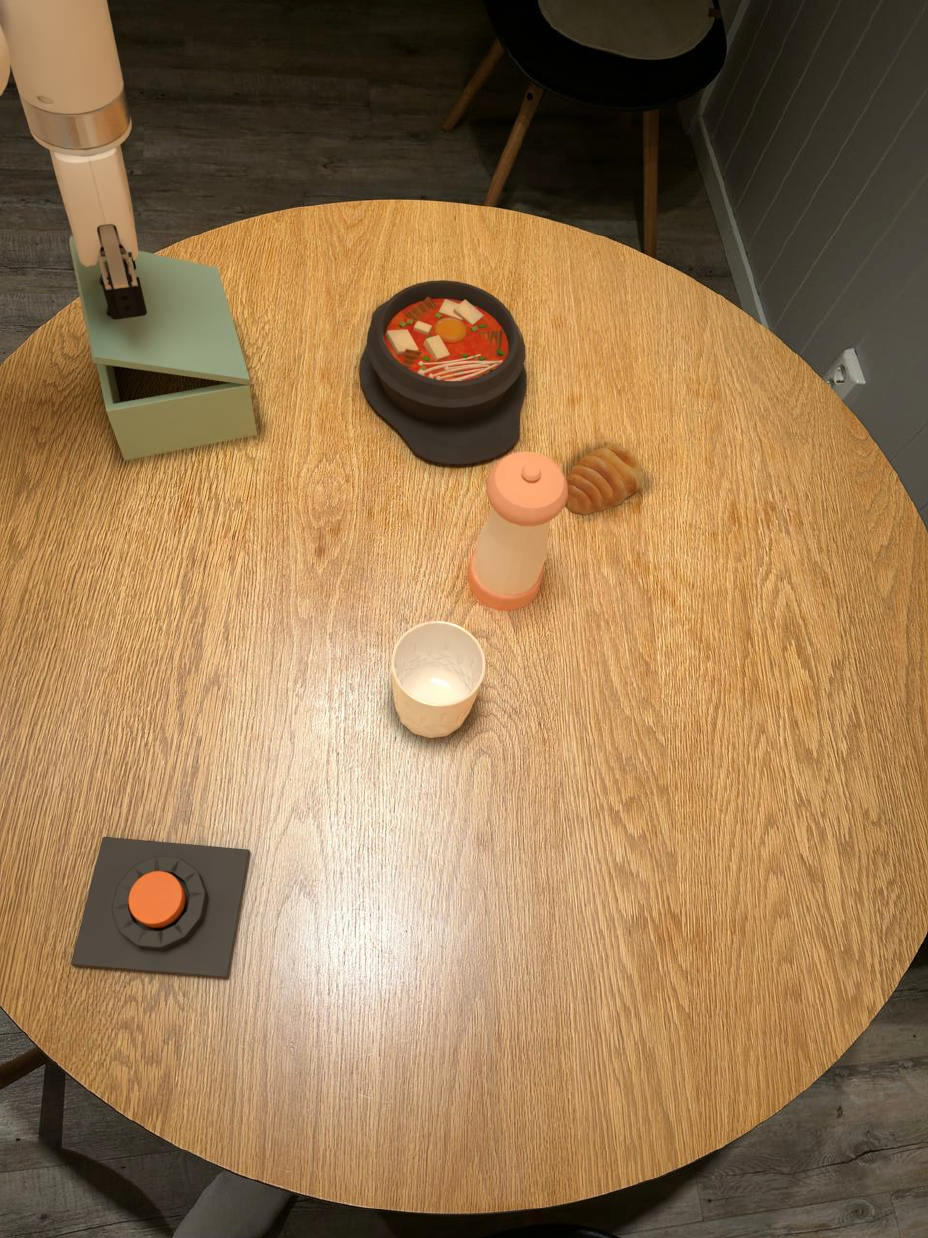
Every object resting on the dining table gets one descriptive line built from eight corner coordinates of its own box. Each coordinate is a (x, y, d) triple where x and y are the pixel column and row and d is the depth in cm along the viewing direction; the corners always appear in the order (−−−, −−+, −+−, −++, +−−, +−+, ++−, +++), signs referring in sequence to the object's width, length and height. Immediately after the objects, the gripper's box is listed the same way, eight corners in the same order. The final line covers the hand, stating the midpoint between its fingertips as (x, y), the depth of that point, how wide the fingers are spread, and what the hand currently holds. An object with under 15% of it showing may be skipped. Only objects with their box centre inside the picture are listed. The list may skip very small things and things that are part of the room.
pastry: (585, 535, 98) (593, 514, 94) (541, 493, 100) (547, 471, 96) (646, 489, 101) (655, 468, 98) (602, 450, 103) (610, 427, 100)
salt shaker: (453, 568, 94) (472, 450, 77) (516, 543, 96) (548, 423, 79) (487, 627, 92) (514, 517, 75) (551, 600, 94) (592, 487, 77)
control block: (78, 968, 74) (63, 961, 71) (109, 843, 79) (96, 830, 75) (230, 981, 75) (224, 974, 71) (252, 855, 79) (247, 844, 76)
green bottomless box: (127, 467, 96) (106, 411, 89) (104, 355, 103) (82, 294, 95) (258, 442, 99) (249, 385, 92) (228, 334, 106) (217, 273, 98)
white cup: (483, 682, 89) (495, 635, 80) (460, 758, 85) (471, 717, 76) (403, 659, 89) (407, 609, 80) (377, 733, 85) (379, 690, 77)
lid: (92, 362, 83) (105, 321, 80) (68, 242, 90) (79, 198, 86) (247, 385, 91) (265, 348, 88) (215, 273, 98) (230, 234, 94)
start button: (127, 925, 72) (122, 921, 71) (139, 873, 74) (134, 868, 73) (180, 930, 73) (175, 926, 71) (190, 878, 75) (186, 873, 73)
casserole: (554, 459, 102) (569, 408, 94) (387, 488, 98) (389, 437, 91) (490, 294, 113) (499, 237, 105) (337, 315, 109) (335, 256, 101)
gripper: (11, 43, 74) (69, 235, 90) (38, 186, 67) (95, 367, 83) (110, 37, 76) (149, 225, 92) (146, 174, 69) (182, 353, 84)
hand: (123, 291), depth 87 cm, fingers closed on lid, 5 cm apart
